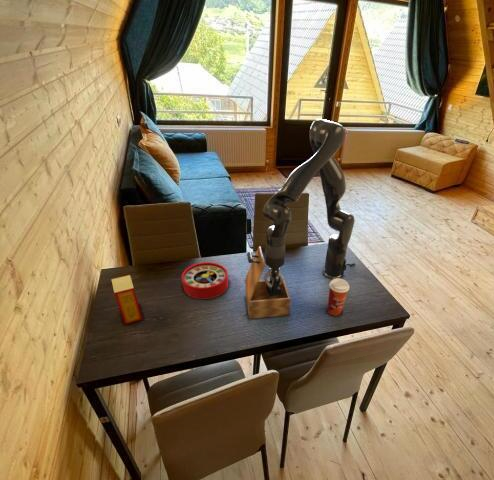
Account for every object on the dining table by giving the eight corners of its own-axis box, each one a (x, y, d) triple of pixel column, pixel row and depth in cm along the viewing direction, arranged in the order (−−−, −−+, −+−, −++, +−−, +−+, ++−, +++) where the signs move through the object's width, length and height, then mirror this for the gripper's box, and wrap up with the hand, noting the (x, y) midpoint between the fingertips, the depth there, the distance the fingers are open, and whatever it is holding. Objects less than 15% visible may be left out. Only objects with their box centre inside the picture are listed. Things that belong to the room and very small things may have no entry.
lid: (260, 246, 125) (247, 243, 123) (265, 265, 115) (251, 262, 112) (246, 280, 134) (234, 278, 132) (249, 301, 123) (236, 299, 121)
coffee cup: (331, 319, 132) (337, 291, 123) (321, 307, 137) (325, 280, 128) (347, 314, 135) (354, 286, 126) (336, 302, 141) (342, 275, 132)
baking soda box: (121, 309, 128) (110, 278, 119) (138, 304, 131) (129, 273, 122) (125, 324, 122) (114, 292, 112) (142, 319, 125) (133, 287, 115)
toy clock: (213, 257, 153) (236, 277, 141) (214, 267, 156) (236, 287, 145) (173, 271, 141) (195, 294, 130) (175, 282, 145) (197, 305, 133)
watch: (284, 293, 132) (286, 273, 125) (266, 297, 129) (267, 276, 122) (279, 285, 136) (281, 264, 129) (262, 288, 133) (262, 268, 126)
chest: (282, 294, 143) (284, 278, 138) (289, 315, 132) (290, 298, 127) (245, 297, 140) (245, 281, 134) (249, 318, 129) (248, 302, 124)
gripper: (288, 262, 116) (285, 298, 126) (281, 242, 127) (279, 276, 137) (268, 263, 114) (267, 299, 124) (262, 243, 125) (262, 278, 135)
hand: (273, 287), depth 130 cm, fingers closed on watch, 4 cm apart
